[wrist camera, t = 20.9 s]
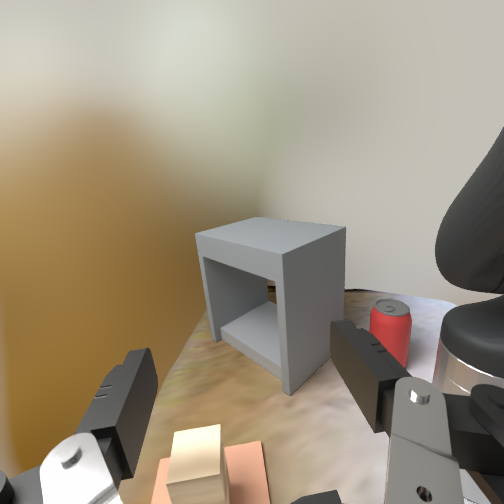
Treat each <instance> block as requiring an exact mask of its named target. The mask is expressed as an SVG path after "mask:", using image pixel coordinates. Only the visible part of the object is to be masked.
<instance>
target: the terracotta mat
mask: <svg viewBox="0 0 504 504" xmlns="http://www.w3.org/2000/svg"><path fill="white" fill-rule="evenodd" d="M224 450H225V455H226V461H227V467H228V473H229V479H230V487H231V504H270V499H269V492H268V486H267V479H266V473H265V466H264V459H263V453H262V446H261V441H256V442H251V443H246V444H240V445H235V446H229V447H224ZM169 463H170V458H165V459H160V463H159V468H158V473H157V478H156V483H155V488H154V492H153V497H152V502H151V504H172V503H171V500H170V497H169V493H168V490H167V486H166V480H167V475H168V469H169Z"/></svg>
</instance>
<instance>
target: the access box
mask: <svg viewBox="0 0 504 504" xmlns="http://www.w3.org/2000/svg"><path fill="white" fill-rule="evenodd" d="M195 236H196V243H197V248H198V254H199V261H200V267H201V273H202V279H203V285H204V292H205V298H206V304H207V310H208V316H209V322H210V328H211V335H212V340H214V341H215V342H218V341H220V340H221V339H222V340H224V341H225V342H227V343H228V344H230V345H231V346H233V347H234V348H235V349H237V350H238V351H240V352H241V353H243V354H244V355H245V356H247V357H248V358H250V359H251V360H253V361H254V362H256V363H257V364H258V365H260V366H261V367H263V368H264V369H266V370H267V371H268V372H270V373H271V374H273V375H274V376H276V377H277V378H279V379H280V380H281V381H282V387H283V392H285V393H286V394H288V395H289V396H291V395H292V394H293V393H294V392H295V391H296V390H297V389H298V388H299V387H300V386H301V385H302V384H303V383H304V382H305V381H306V380H307V379H308V378H309V377H310V376H311V375H312V374H313V373H314V372H315V371H316V370H317V369H318V368H319V367H320V366H322V365H323V364H324V363H325V362H326V361H327V360H328V359H329V358H330V357H331V353H330V324H331V321H336V320H343V319H344V286H345V284H344V283H345V247H346V246H345V243H346V227H343V226H334V225H325V224H315V223H307V222H298V221H290V220H281V219H272V218H263V217H255V218H251V219H247V220H244V221H240V222H237V223H233V224H229V225H225V226H221V227H218V228H214V229H210V230H207V231H203V232H199V233H195ZM267 279H270V280H273V281H275V282H276V297H277V304H275V303H273V302H270V301H268V288H267Z"/></svg>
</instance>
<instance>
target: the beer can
mask: <svg viewBox="0 0 504 504" xmlns="http://www.w3.org/2000/svg"><path fill="white" fill-rule="evenodd" d="M409 311H410V309H409V307H408V306H407V305H406V304H405V303H403V302H401V301H398V300H394V299H380V300H378V301H376V302H375V303H374V307H373V309H372V311H371V315H370V331H369V332H370V333H371V334H373V335H374V336H375V337H376V338H377V339H378V340H379V341H380V342H381V345H382V344H383V346H384V347H385V348H386V349H387V351H388V352H390V353H391V354H392V355H393V356H394V357H395V359H396V360H397V361H398V362H399V363H400V364H401V365H402V366H403V367H404V368H405V367H406V365H407V358H408V350H409V342H410V334H411V325H412V319H411V315H410V312H409Z"/></svg>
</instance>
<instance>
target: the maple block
mask: <svg viewBox="0 0 504 504" xmlns="http://www.w3.org/2000/svg"><path fill="white" fill-rule="evenodd" d="M166 486H167V490H168V493H169V497H170V500H171V503H172V504H231V487H230V479H229V473H228V467H227V461H226V455H225V450H224V444H223V438H222V432H221V427H220V424H219V425H213V426H207V427H202V428H196V429H190V430H184V431H179V432H175V434H174V440H173V446H172V452H171V457H170V463H169V469H168V475H167V480H166Z"/></svg>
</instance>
